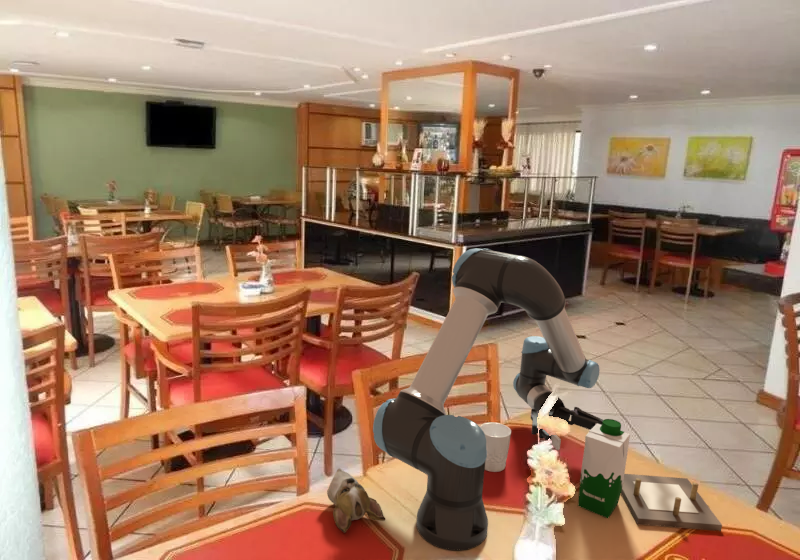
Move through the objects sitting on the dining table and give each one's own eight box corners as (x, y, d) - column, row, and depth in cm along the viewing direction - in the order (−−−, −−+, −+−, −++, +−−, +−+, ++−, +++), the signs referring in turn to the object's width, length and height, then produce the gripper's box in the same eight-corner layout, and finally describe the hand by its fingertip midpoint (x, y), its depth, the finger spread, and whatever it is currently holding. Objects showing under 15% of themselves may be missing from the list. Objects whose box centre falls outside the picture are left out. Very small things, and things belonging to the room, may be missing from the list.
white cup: (471, 466, 146) (474, 430, 144) (485, 453, 153) (488, 419, 150) (499, 477, 142) (503, 440, 140) (512, 463, 148) (516, 428, 146)
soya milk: (622, 503, 134) (635, 425, 129) (610, 522, 127) (622, 440, 122) (585, 489, 139) (596, 413, 134) (572, 506, 132) (582, 427, 127)
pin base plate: (637, 524, 126) (640, 502, 125) (612, 478, 144) (615, 458, 143) (721, 530, 126) (725, 508, 124) (686, 483, 143) (689, 464, 142)
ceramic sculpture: (360, 456, 132) (390, 495, 119) (358, 488, 134) (387, 530, 122) (316, 467, 127) (342, 509, 114) (315, 500, 129) (341, 545, 117)
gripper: (585, 414, 162) (628, 453, 142) (502, 418, 157) (535, 460, 137) (588, 389, 160) (633, 425, 140) (504, 393, 155) (538, 431, 135)
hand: (584, 443), depth 139 cm, fingers open, 13 cm apart
